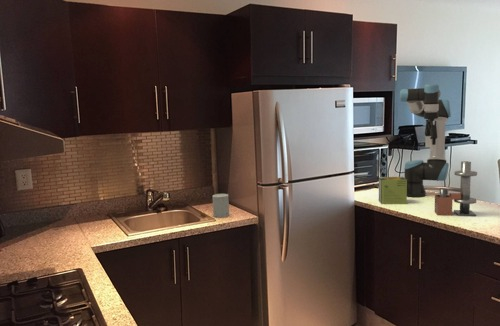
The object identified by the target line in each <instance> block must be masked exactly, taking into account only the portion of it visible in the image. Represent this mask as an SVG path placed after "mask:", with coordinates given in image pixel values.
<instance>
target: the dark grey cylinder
mask: <svg viewBox="0 0 500 326" xmlns="http://www.w3.org/2000/svg"><path fill="white" fill-rule="evenodd" d="M439 195H440V197H447V195H449V191H448V188H445V187H444V188H439Z"/></svg>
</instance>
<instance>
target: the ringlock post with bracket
mask: <svg viewBox="0 0 500 326" xmlns="http://www.w3.org/2000/svg"><path fill="white" fill-rule="evenodd" d="M454 175H455V176H456V177H457V176H458V177H460V184H459V185H460V187H459V189H460V190H459V191H460V192H448V195H447V197H440V194H434V213H435V214H436V215H437V216H453V213H454V214H455V215H457V217H476V216H477V214H476V213H475V212H474V211H473V210H471V209H470V208H471V206H470V205H473V204H476V203H477V198H474V197H471V177H477V176H478V171H474V170H472V161H470V160H469V161H460V170H454ZM453 202H454V203H456V204H459V209H453Z"/></svg>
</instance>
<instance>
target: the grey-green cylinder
mask: <svg viewBox="0 0 500 326" xmlns="http://www.w3.org/2000/svg"><path fill="white" fill-rule="evenodd" d="M212 213H213V215H212V216H213V217H214V218H216V219H222V218H223V219H224V218H227V217H230V203H229V193H216V194H213V195H212Z"/></svg>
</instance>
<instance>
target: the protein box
mask: <svg viewBox="0 0 500 326" xmlns="http://www.w3.org/2000/svg"><path fill="white" fill-rule="evenodd" d="M407 197H408V196H407V179H406V178H405V176H382V177H381V176H378V201H379V203H380V205H407V204H408V203H407V202H408V199H407Z"/></svg>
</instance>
